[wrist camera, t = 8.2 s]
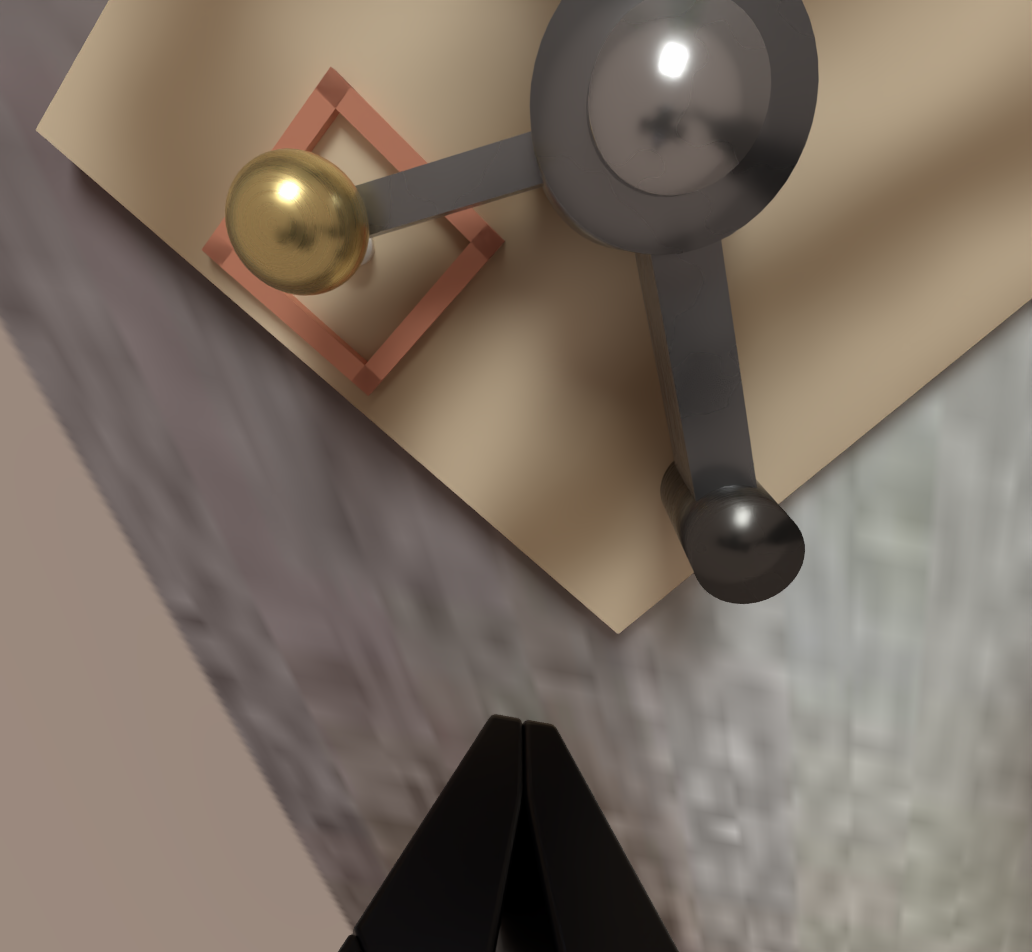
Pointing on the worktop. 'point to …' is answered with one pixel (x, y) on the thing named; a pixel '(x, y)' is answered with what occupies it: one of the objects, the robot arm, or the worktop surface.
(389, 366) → the level window
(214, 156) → the board
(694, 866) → the worktop surface
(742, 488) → the bell crank
